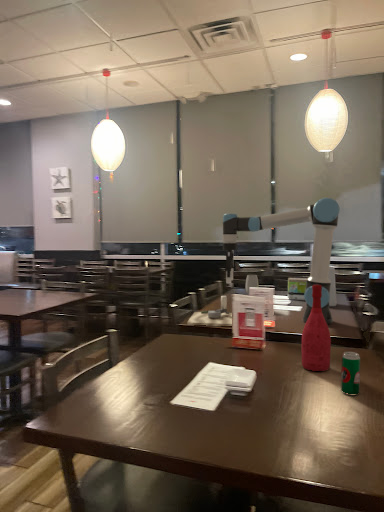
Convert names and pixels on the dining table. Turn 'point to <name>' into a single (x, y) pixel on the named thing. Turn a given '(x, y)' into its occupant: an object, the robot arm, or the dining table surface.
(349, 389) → the soda can
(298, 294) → the tea box
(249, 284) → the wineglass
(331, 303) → the plastic bottle
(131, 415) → the dining table surface
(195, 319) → the dial board
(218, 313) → the grey l-shaped block
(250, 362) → the dining table surface
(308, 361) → the wine bottle
